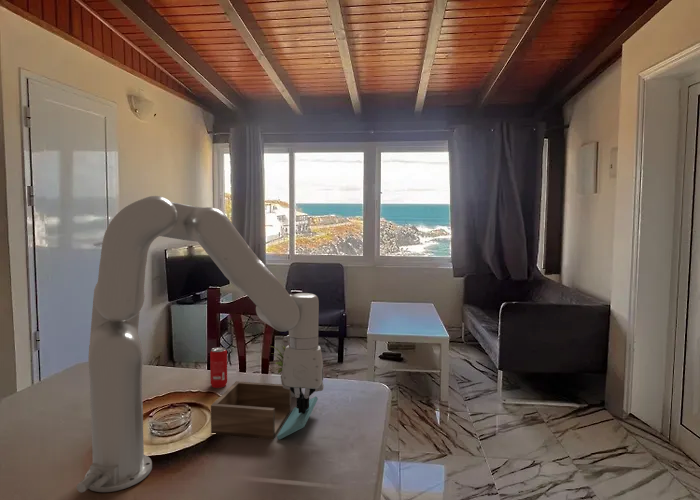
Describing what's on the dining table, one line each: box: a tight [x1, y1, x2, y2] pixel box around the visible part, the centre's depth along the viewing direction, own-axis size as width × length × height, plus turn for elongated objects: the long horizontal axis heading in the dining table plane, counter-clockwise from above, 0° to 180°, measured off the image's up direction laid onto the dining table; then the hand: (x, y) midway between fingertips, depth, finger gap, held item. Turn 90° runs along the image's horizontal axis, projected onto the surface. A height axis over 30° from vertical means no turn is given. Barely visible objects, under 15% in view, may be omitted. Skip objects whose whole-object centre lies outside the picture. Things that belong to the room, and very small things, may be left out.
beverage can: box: [209, 346, 228, 389], centre depth 140 cm, size 5×5×12 cm
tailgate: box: [276, 396, 319, 440], centre depth 113 cm, size 16×1×7 cm
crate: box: [210, 380, 292, 441], centre depth 115 cm, size 16×16×8 cm
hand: (302, 410), depth 113 cm, fingers closed
